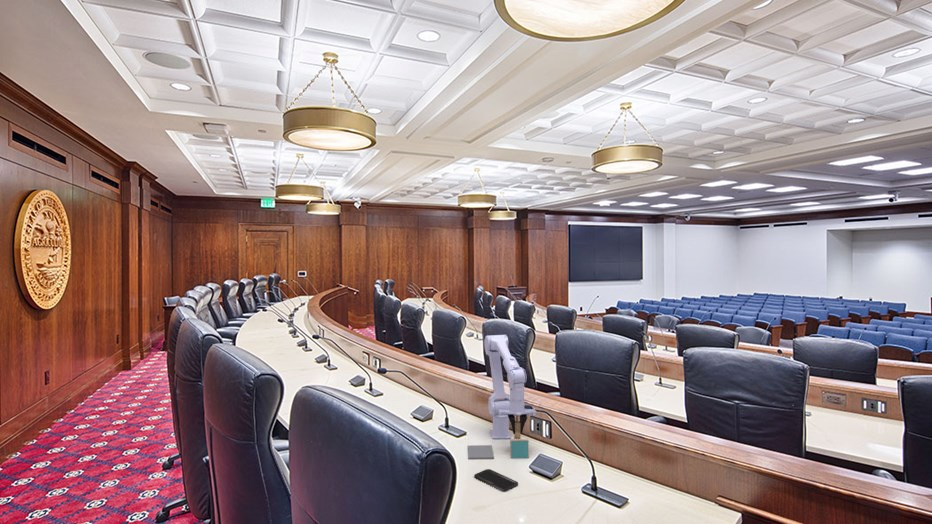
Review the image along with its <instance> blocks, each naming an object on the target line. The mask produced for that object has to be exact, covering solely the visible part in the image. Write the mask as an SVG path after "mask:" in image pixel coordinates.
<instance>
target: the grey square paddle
mask: <svg viewBox="0 0 932 524" xmlns="http://www.w3.org/2000/svg"><path fill="white" fill-rule="evenodd" d="M520 431H521V425H520V420H515V434H513V435H514V438H513V439H522V438H521V437H522V434H520Z"/></svg>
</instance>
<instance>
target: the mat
mask: <svg viewBox="0 0 932 524" xmlns="http://www.w3.org/2000/svg"><path fill="white" fill-rule="evenodd" d="M467 456H468V457H467V459H468V460H495V455H494V451H493V445H491V444H489V445H488V444H483V445H479V444H478V445H467Z"/></svg>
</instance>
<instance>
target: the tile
mask: <svg viewBox="0 0 932 524" xmlns="http://www.w3.org/2000/svg"><path fill="white" fill-rule="evenodd" d="M529 444H530V443H529V438H521V439H514V438H509V449H510V450H509V452H510V453H509V454H510V455H509V457H510V459H529V458H530V457H529V456H530V455H529V452H530V451H529Z"/></svg>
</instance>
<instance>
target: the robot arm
mask: <svg viewBox="0 0 932 524" xmlns="http://www.w3.org/2000/svg"><path fill="white" fill-rule="evenodd" d="M483 342H484V343H483V344H484V345H483V346H484V352H485V354H486V356H488V358H489V365H490V374H491V380H492V381H491V382H492V389H493V393H492V394H491V395H490V396H489V397H488V401H487V402H488V404H487V405H488V412H489V414H490V416H492V429H491V430H490V433H491V437H492V439H493V440H496V439H497V440H498V439H499V440H501V439H512V437H511V434H510V425H511V429H512V435H514V434H515V421H516V417H515V416H519V421H520V425H521V431H520V434H521V435H523V431H524V427H525V424H526V422H527V420H528V416H534V417H535V416H536V415H537V413H536V409H534V408H532V409H531V408H525V384H526V383H527V376H528V375H527V372H526V369H524V368H523V367H520V364H519V362H518V361H517V359H516V357H514V356H512V354H511V353H510V349H509V338H508V335H507V334H494V335H485V337H484V341H483ZM501 359H502V360H503V361H502V363H501ZM502 366H503V367H504V369H505V372H506V373H507V376H506V377H507V378H506V379H507V382H508V388H509V394H508V393H507V392H505V385H504V377H503V369H502Z"/></svg>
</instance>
